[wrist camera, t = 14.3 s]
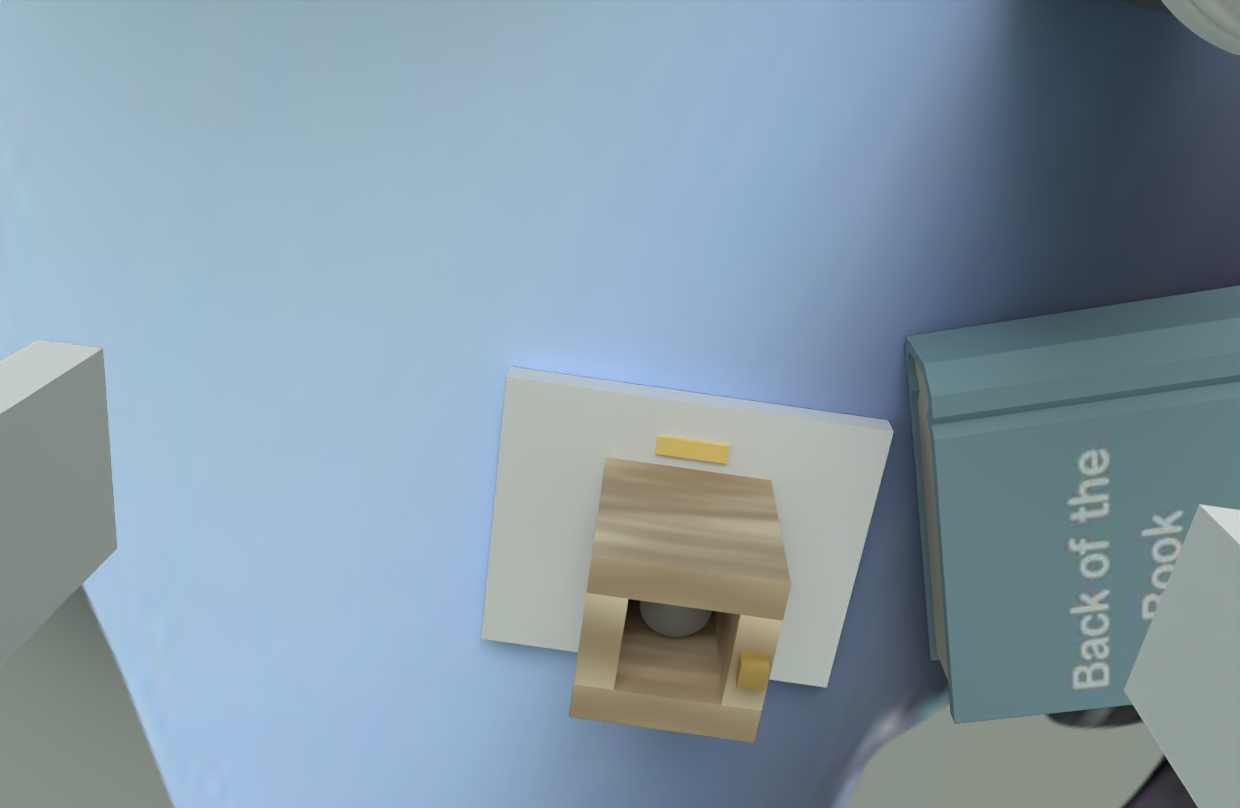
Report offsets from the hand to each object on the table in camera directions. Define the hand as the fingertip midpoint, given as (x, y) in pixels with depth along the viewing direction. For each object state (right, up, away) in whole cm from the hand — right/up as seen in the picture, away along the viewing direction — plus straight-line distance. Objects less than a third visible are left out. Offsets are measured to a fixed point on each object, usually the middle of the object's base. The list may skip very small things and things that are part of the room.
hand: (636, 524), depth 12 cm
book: (+24, -1, +31) cm, 39 cm away
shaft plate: (+2, -4, +33) cm, 33 cm away
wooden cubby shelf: (+2, -4, +31) cm, 32 cm away
